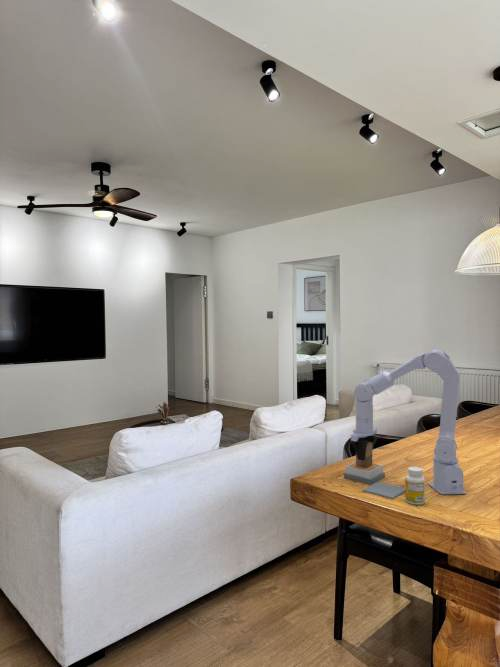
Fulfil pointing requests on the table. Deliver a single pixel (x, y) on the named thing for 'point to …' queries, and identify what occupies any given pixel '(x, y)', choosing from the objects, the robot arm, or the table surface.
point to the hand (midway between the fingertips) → (364, 458)
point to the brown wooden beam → (366, 457)
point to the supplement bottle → (415, 486)
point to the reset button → (365, 468)
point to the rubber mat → (385, 490)
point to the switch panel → (364, 474)
